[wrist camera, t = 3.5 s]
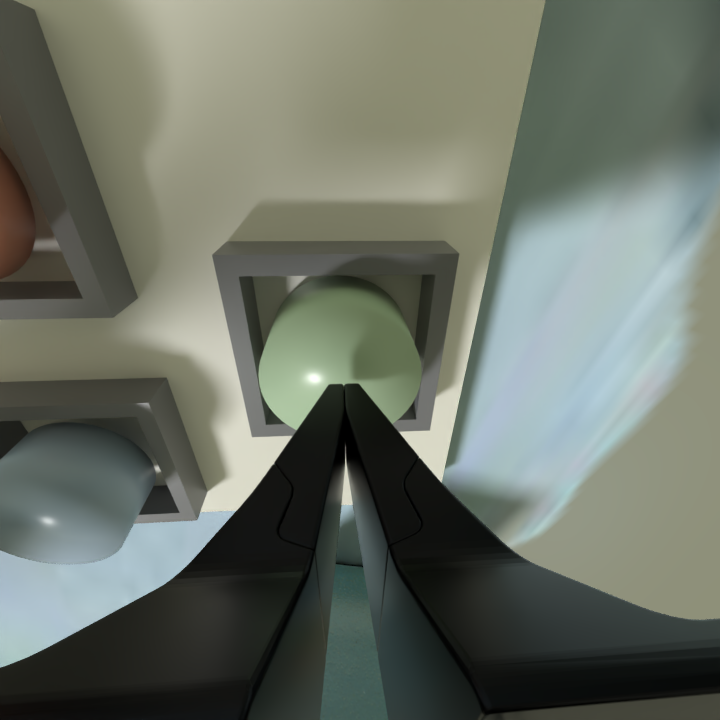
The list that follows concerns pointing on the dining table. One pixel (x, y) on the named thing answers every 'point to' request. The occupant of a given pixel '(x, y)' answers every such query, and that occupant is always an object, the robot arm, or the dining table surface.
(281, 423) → the button panel
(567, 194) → the dining table surface
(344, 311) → the sage button
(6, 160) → the brick button
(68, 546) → the slate button
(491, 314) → the dining table surface
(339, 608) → the flower pot
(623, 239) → the dining table surface
